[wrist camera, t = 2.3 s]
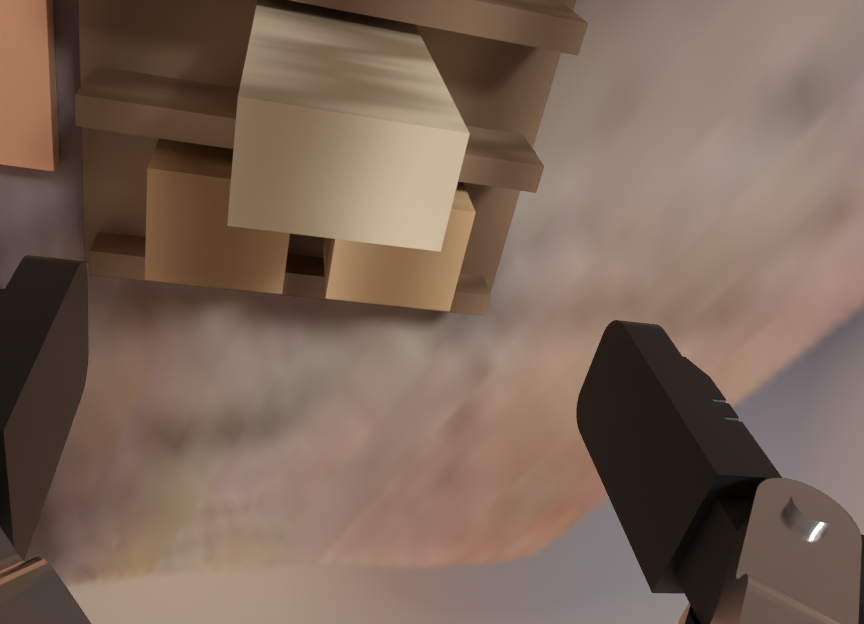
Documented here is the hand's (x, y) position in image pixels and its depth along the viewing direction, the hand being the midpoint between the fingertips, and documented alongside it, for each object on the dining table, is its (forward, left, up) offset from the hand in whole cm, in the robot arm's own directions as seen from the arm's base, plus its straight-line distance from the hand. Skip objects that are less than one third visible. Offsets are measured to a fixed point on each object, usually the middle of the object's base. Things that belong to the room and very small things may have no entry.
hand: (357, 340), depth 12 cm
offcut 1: (+3, +6, -17) cm, 18 cm away
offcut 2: (-3, +6, -17) cm, 19 cm away
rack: (0, +3, -18) cm, 19 cm away
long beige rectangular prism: (0, 0, -17) cm, 17 cm away
